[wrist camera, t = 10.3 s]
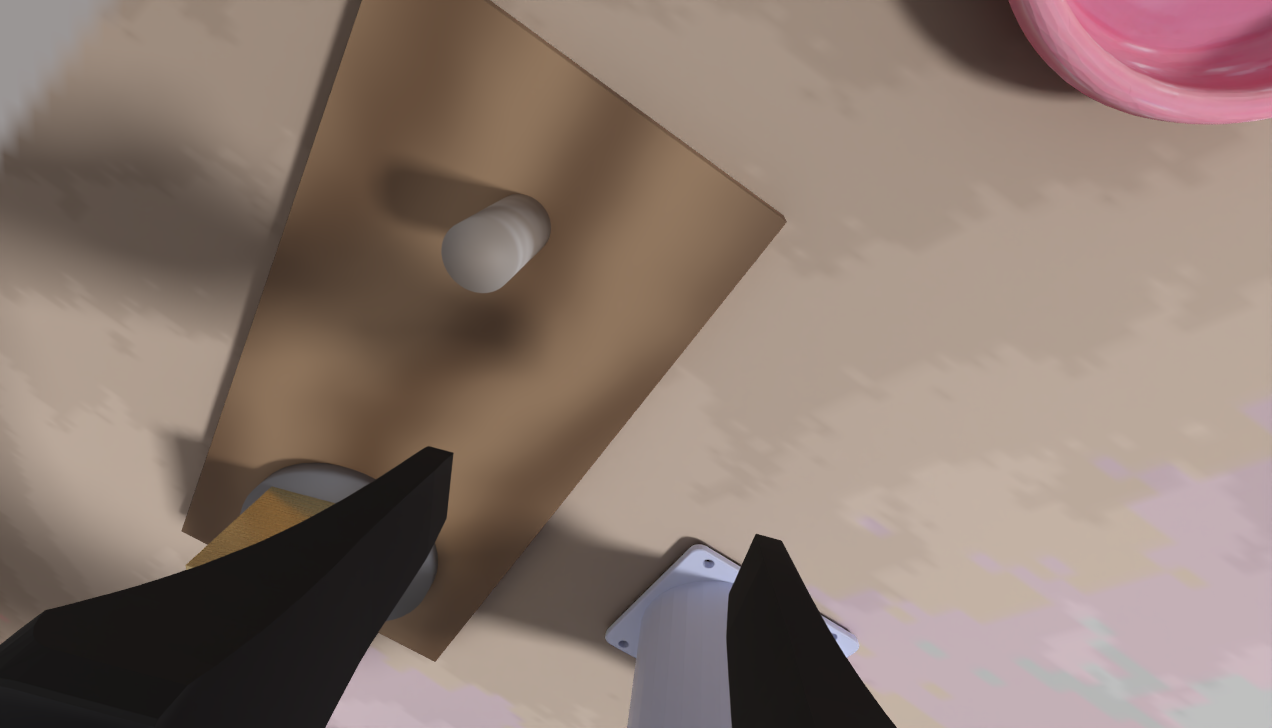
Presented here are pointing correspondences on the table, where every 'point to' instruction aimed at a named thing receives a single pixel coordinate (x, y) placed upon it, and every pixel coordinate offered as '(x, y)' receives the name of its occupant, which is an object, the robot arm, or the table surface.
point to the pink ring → (1160, 54)
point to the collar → (261, 522)
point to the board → (471, 291)
